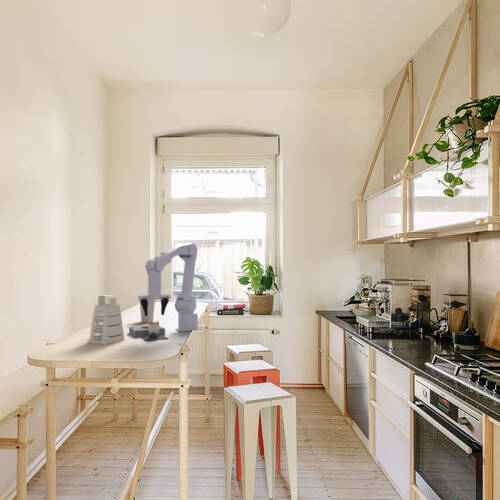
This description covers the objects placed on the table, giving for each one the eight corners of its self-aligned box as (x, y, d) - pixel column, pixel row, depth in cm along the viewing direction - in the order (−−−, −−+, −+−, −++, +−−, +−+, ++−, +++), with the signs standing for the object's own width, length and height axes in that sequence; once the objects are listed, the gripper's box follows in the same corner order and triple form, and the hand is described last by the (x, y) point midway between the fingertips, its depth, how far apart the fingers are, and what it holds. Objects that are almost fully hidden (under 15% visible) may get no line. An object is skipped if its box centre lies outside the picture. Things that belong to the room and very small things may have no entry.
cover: (157, 335, 195) (157, 320, 195) (160, 337, 191) (160, 322, 191) (147, 336, 193) (146, 321, 193) (150, 338, 189) (150, 323, 189)
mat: (161, 335, 198) (161, 334, 198) (168, 339, 189) (168, 338, 189) (140, 337, 193) (140, 336, 193) (146, 341, 184) (146, 340, 184)
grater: (105, 344, 177) (105, 297, 178) (89, 341, 183) (89, 295, 183) (124, 340, 186) (124, 295, 187) (108, 337, 192) (108, 294, 192)
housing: (157, 330, 210) (157, 323, 210) (165, 334, 200) (165, 327, 200) (129, 333, 203) (129, 326, 203) (135, 337, 193) (135, 330, 193)
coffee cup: (135, 322, 237) (135, 295, 237) (144, 319, 246) (144, 294, 246) (150, 323, 234) (150, 296, 234) (158, 320, 243) (159, 294, 243)
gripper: (141, 286, 184) (140, 317, 184) (172, 285, 192) (172, 315, 191) (136, 285, 191) (136, 315, 190) (167, 284, 198) (167, 313, 198)
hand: (154, 315), depth 191 cm, fingers open, 7 cm apart
